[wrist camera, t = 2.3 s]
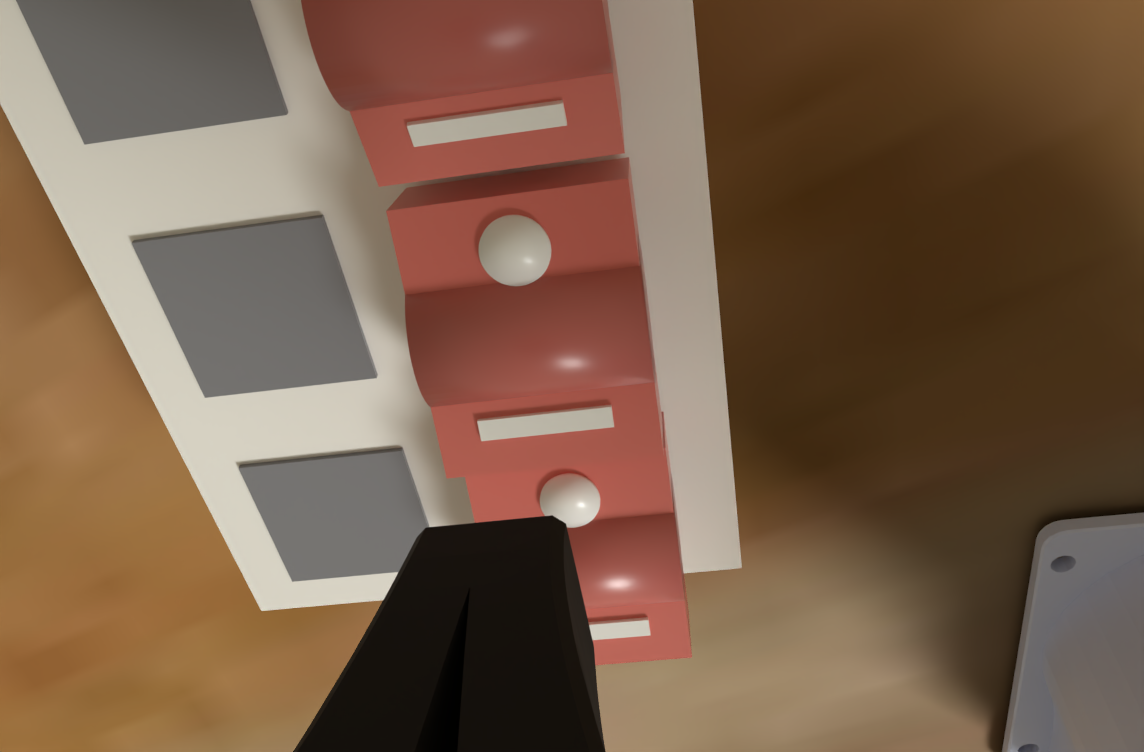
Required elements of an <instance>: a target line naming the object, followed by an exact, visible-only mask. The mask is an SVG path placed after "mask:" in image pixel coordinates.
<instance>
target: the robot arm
mask: <svg viewBox="0 0 1144 752" xmlns="http://www.w3.org/2000/svg"><path fill="white" fill-rule="evenodd" d="M1061 556H1063V557H1061ZM1058 557H1061V558H1058ZM1056 558H1057V559H1056ZM293 752H605V746H604V740H603V733H602V726H601V718H600V710H599V702H598V694H597V683H596V669H595V654H594V645H593V640H592V636H591V631H590V627H589V623H588V618H587V614H586V609H585V605H584V601H583V596H582V592H581V587H580V583H579V579H578V574H577V570H576V565H575V561H574V557H573V552H572V548H571V543H570V539H569V535H568V530H567V526H566V523H564V522H563V521H561V520H559V519H558V518H556V517H554V516H553V515H550V516H540V517H530V518H519V519H509V520H499V521H488V522H478V523H468V524H457V525H447V526H437V527H426V528H425V529H424V530H423V531H422V532H421V533H420V534H419V535H418V537H417V538H416V540H415V542H414V544H413V546H412V547H411V549H410V551H409V553H408V555H407V557H406V559H405V561H404V563H403V565H402V567H401V568H400V570H399V572H398V574H397V576H396V578H395V580H394V582H393V583H392V585H391V587H390V589H389V591H388V593H387V595H386V596H385V598H384V600H383V602H382V604H381V605H380V607H379V609H378V611H377V613H376V615H375V616H374V618H373V620H372V622H371V623H370V625H369V627H368V629H367V630H366V632H365V634H364V636H363V637H362V639H361V641H360V643H359V644H358V646H357V648H356V650H355V652H354V653H353V655H352V657H351V658H350V660H349V662H348V663H347V665H346V667H345V668H344V670H343V672H342V673H341V675H340V677H339V678H338V680H337V682H336V683H335V685H334V687H333V688H332V690H331V691H330V693H329V695H328V696H327V698H326V700H325V701H324V703H323V705H322V706H321V708H320V710H319V711H318V713H317V715H316V716H315V718H314V720H313V721H312V723H311V724H310V726H309V728H308V729H307V731H306V732H305V734H304V736H303V737H302V739H301V740H300V742H299V743H298V745H297V747H296V748H295V750H294V751H293ZM1002 752H1144V512H1143V513H1132V514H1121V515H1110V516H1099V517H1089V518H1078V519H1067V520H1059V521H1055V522H1052V523H1050V524H1048V525H1046V526H1045V527H1044V528H1043V529H1042V530H1041V531H1040V532H1039V534H1038V536H1037V538H1036V543H1035V550H1034V556H1033V562H1032V568H1031V575H1030V581H1029V587H1028V593H1027V599H1026V606H1025V612H1024V618H1023V624H1022V630H1021V637H1020V643H1019V649H1018V655H1017V662H1016V668H1015V674H1014V680H1013V686H1012V693H1011V699H1010V705H1009V711H1008V717H1007V724H1006V730H1005V736H1004V742H1003V749H1002Z"/></svg>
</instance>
